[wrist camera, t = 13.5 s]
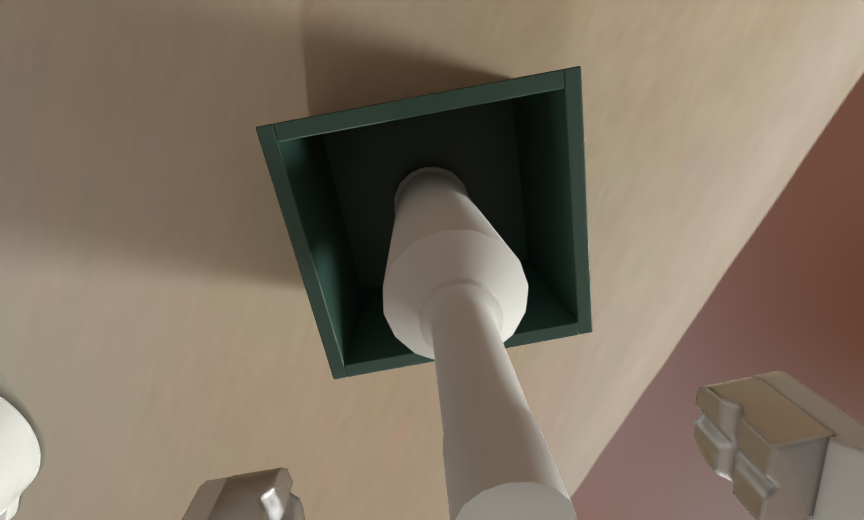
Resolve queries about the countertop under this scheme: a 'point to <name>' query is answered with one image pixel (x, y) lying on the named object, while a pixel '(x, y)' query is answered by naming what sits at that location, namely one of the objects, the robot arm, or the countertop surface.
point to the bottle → (469, 349)
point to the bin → (486, 187)
